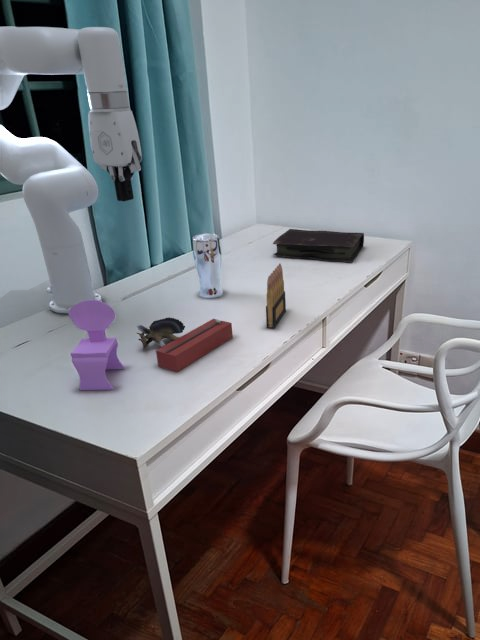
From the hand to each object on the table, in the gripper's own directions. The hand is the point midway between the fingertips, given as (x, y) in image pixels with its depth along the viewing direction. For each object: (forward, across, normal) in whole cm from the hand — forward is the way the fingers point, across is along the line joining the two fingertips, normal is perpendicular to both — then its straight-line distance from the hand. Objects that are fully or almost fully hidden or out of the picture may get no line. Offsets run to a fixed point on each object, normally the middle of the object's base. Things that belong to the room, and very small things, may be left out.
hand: (125, 199), depth 115 cm
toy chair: (+27, +14, -26) cm, 40 cm away
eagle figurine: (+27, +14, -10) cm, 32 cm away
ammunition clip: (+27, +28, +14) cm, 42 cm away
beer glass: (+27, +4, +20) cm, 34 cm away
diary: (+27, +11, +66) cm, 72 cm away
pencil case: (+27, +22, -8) cm, 36 cm away
